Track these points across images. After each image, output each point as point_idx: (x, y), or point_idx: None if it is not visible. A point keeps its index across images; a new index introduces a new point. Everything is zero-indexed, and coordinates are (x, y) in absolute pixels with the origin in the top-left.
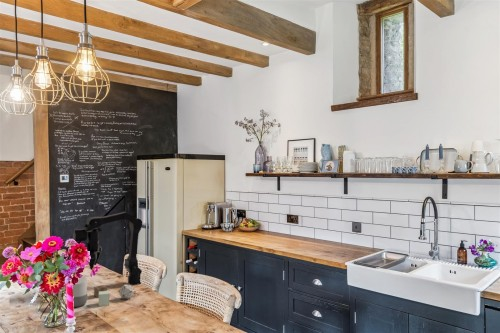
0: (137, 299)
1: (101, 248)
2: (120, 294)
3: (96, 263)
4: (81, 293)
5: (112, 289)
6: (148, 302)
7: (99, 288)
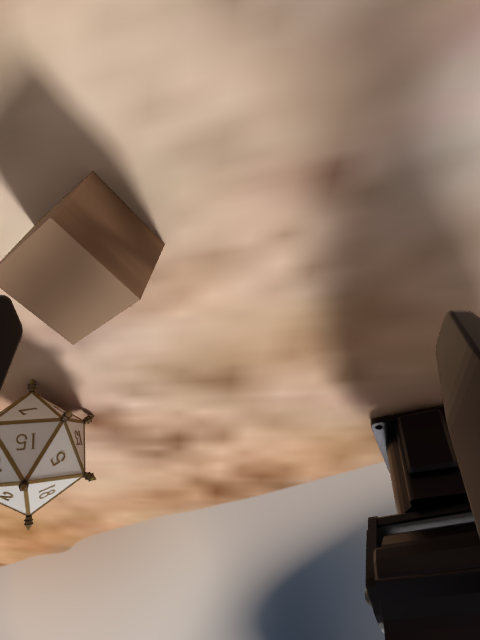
0: None
1: None
2: (6, 410)
3: (443, 388)
4: None
5: (290, 307)
6: None
7: (4, 285)
